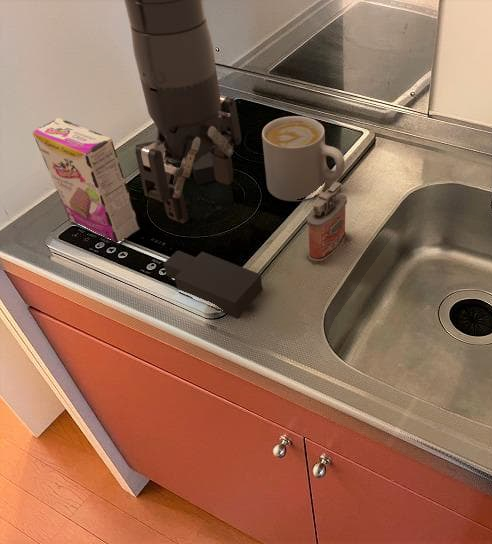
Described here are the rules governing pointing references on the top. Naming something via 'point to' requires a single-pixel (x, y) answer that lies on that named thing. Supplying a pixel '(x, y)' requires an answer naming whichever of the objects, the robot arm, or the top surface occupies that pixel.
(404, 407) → the top surface
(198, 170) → the notch mat
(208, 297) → the tab pad
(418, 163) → the top surface
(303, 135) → the coffee mug
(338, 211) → the lighter
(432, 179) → the top surface
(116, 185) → the candy bar box
